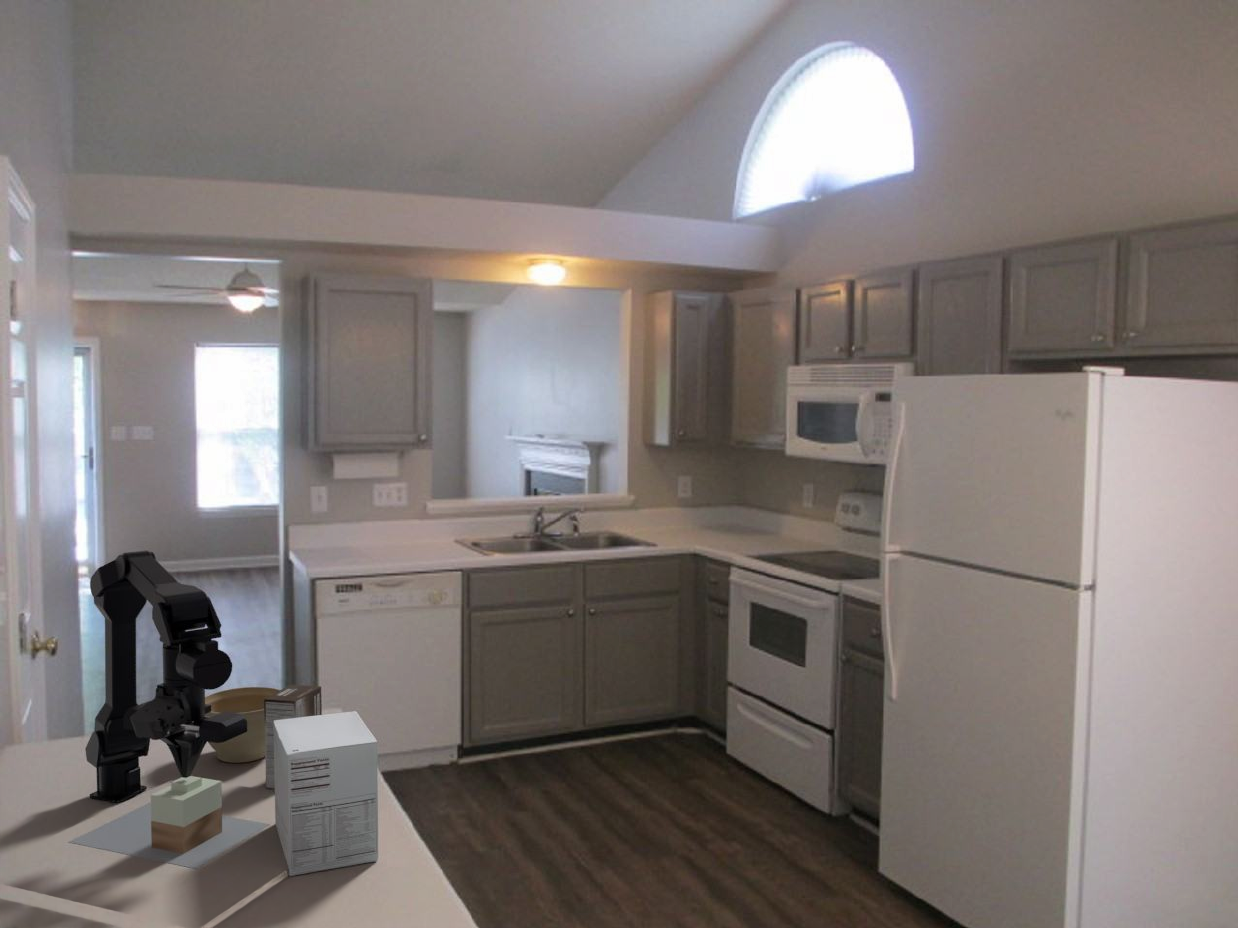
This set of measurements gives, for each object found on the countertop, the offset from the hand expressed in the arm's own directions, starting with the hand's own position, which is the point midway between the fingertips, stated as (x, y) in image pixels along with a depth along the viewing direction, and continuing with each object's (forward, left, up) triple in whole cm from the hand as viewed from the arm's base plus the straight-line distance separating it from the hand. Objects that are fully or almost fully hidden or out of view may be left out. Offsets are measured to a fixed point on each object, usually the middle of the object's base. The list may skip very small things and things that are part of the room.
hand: (186, 776), depth 154 cm
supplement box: (+19, +8, -11) cm, 23 cm away
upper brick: (0, 0, -6) cm, 6 cm away
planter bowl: (-19, +35, -11) cm, 41 cm away
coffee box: (-2, +28, -11) cm, 30 cm away
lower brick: (0, 0, -10) cm, 10 cm away
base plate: (-4, +1, -11) cm, 12 cm away
